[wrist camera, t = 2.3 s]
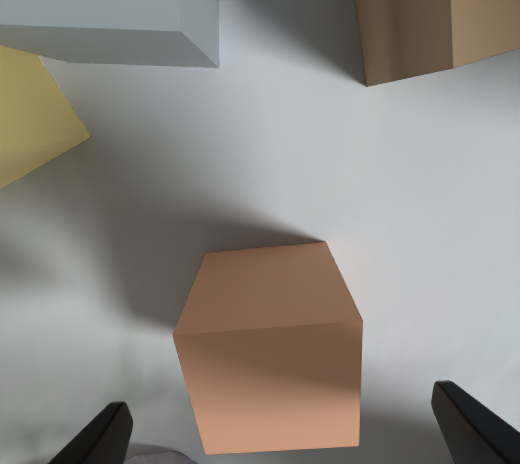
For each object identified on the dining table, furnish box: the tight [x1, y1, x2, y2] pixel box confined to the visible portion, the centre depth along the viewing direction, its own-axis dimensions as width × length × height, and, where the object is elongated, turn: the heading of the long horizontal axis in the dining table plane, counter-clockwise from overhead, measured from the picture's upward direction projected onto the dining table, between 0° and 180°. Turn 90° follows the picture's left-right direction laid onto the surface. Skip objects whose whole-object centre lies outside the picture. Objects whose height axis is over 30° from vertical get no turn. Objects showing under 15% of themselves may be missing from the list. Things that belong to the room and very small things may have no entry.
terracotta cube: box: [173, 242, 363, 455], centre depth 11 cm, size 5×5×5 cm
